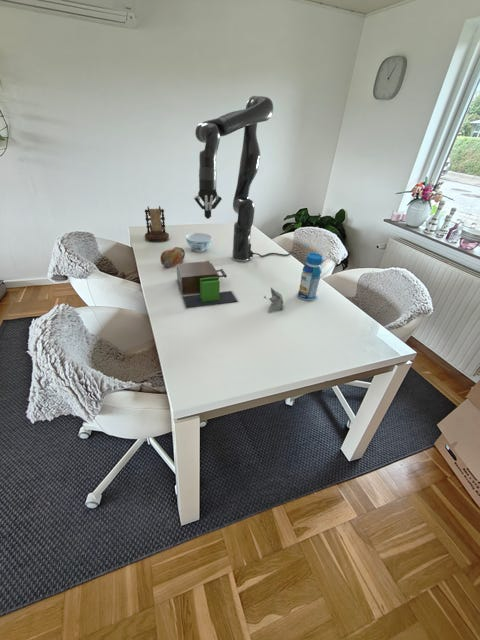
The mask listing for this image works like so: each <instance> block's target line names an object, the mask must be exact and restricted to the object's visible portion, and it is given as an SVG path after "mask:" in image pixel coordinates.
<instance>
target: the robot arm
mask: <svg viewBox="0 0 480 640" xmlns="http://www.w3.org/2000/svg"><path fill="white" fill-rule="evenodd" d="M273 112H274V104H273V101H272V99H271V98H269V97H268V96H262V95H261V96H260V95H252V96H250V97H249V98H248V100H247V101H246V105H245V108H244V109H239V110H233V111H230V112H227V113H225V114H223V115H221V116H218V117H217V118H213V119H212V118H211V119H208V120H204V121H202V122H200V123H199V124H197V126H196V128H195V130H194V131H195V132H194V135H195V138H196V140H197V141H199V142H200V143H203V144H204V148H203V149H202V150H200V151H199V154H198V155H199V157H198V158H199V159H198V160H199V168H198V183H199V184H198V193H197V195H195V196H194V197H193V199H194V201H195V202H196V204H197V205H198V206H199V207H200V208H201V209H202V210H204V214H203V215H204V217H205V219H207V220H208V219H209V220H210V219H211V217H212V210H215V209H216V208H217V207H218V205H219V204H220V203H221V201H222V196H219V195H218V192H217V154H218V151H219V145H220V141H221V137H226V136H228V135H231V134H232V133H234V132H236V131H238V130H241V129H243V140H242V147H241V154H240V161H239V167H238V176H237V184H236V188H235V192H234V197H233V201H232V209H233V211H234V213H235V214H237V220H236V221H235V222H234V224H233V239H232V241H233V242H232V257H231V258H232V260H233V261H234V262H237V263H245V262H249V261H250V260H251V258H253V257H254V255H257V256H259V257H261V258H264V257H267V256H269V255H277V256H283V257H288V256H290V255H293V254H294V255H296V252H294V251H291V252H290V253H287V254H284V253H278V252H269V253H266V254H264V255H261V254H260V253H257V252H254V251H252V243H251V233H252V226H253V224H254V218H255V210H256V209H255V203H254V200H252V199H250V198H249V193H250V189H251V186H252V182H253V181H254V179H255V177H256V175H257V173H258V170H259V166H260V161H261V149H260V146H259V142H258V136H257V129H258V123H263V122H267V121H269V120H270V119H271V117H272V116H273V114H274V113H273ZM201 201H202V202H203V203H201Z"/></svg>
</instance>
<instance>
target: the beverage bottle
mask: <svg viewBox="0 0 480 640" xmlns="http://www.w3.org/2000/svg"><path fill="white" fill-rule="evenodd" d="M323 260H324V257H323V255H322V254H320V253H316V252H310V253H307V255H306V258H305V261H306V262H305V264H304V265H303V267H302V272H301V275H300V283H299V288H298V293H297V296H298V297H299V299H301V300H303V301H314V300H315V299H316V297H317V292H318V288H319V283H320V280H321V279H322V276H321V275H322V266H321V265H322V264H323Z"/></svg>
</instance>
